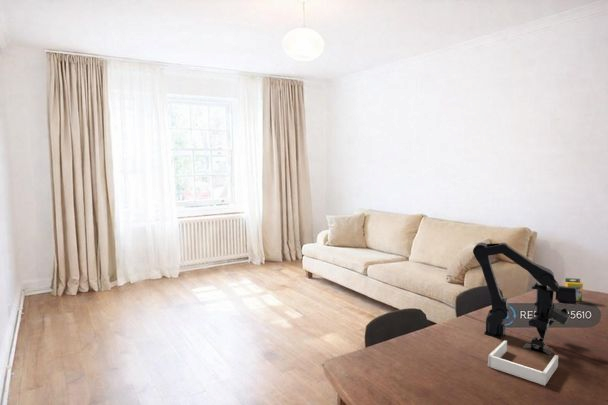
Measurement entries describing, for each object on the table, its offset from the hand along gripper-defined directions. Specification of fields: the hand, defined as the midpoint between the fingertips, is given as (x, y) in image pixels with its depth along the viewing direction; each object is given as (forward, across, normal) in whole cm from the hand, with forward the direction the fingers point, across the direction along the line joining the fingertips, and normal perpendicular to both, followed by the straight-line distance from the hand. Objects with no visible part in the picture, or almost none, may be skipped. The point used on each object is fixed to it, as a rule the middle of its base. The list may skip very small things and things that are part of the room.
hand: (542, 338), depth 159 cm
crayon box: (+2, +67, +1) cm, 67 cm away
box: (+2, -25, 0) cm, 25 cm away
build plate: (+3, -7, 0) cm, 8 cm away
